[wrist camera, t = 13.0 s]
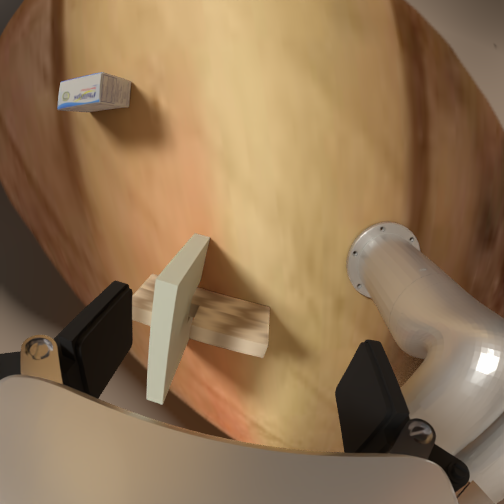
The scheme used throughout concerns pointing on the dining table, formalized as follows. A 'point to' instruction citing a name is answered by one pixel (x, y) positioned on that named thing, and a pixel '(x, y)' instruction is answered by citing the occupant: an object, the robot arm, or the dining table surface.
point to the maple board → (215, 319)
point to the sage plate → (173, 315)
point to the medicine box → (94, 93)
